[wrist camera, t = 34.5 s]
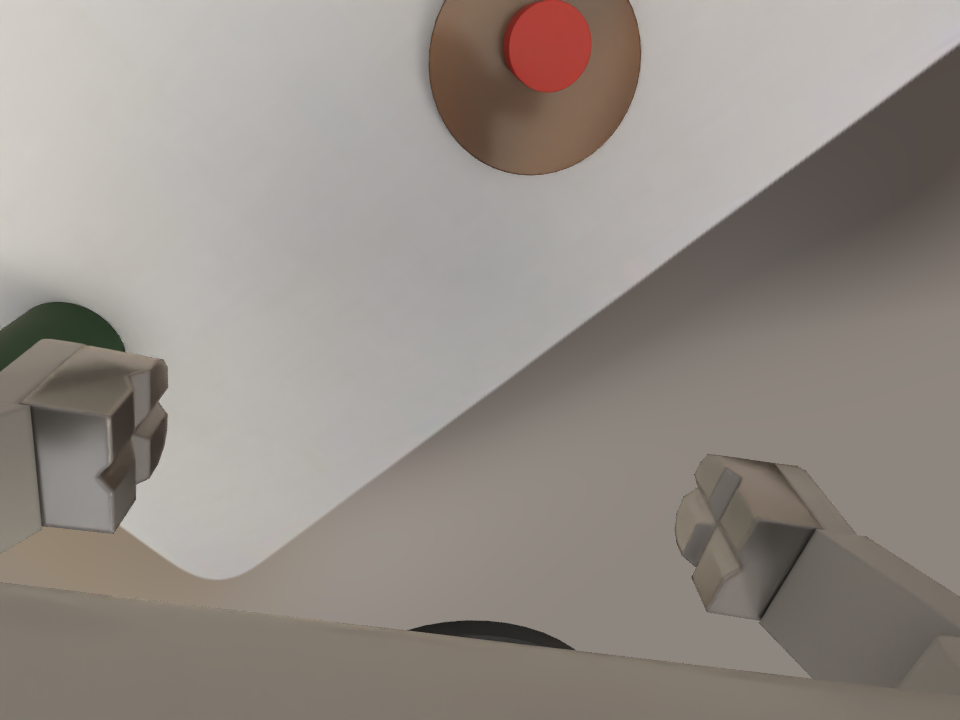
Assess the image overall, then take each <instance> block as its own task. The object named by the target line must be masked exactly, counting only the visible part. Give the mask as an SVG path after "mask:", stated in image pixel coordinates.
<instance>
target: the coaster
mask: <svg viewBox="0 0 960 720" xmlns="http://www.w3.org/2000/svg"><path fill="white" fill-rule="evenodd" d="M537 1H544V0H445V2H444V3H443V5H442V7H441V10H440V12H439V14H438V17H437V19H436V22H435V26H434V29H433V33H432V37H431V43H430V50H429V75H430V84H431V89H432V94H433V98H434V100H435V103H436V106H437V109H438V112H439V114H440V116H441V118H442V120H443V122H444V124H445V125H446V127H447V128H448V130H449V132H450V133H451V135H452V136H453V137H454V138H455V139H456V141H457V142H458V143H459V144H460V145H461V146H462V147H463V148H464V149H465V150H466V151H467V152H469V153H470V154H471V155H472V156H474V157H475V158H477V159H478V160H479V161H481V162H483V163H485V164H487V165H489V166H491V167H493V168H495V169H498V170H501V171H504V172H508V173H513V174H519V175H542V174H548V173H553V172H557V171H560V170H563V169H566V168H569V167H571V166H573V165H575V164H577V163H579V162H581V161H582V160H584V159H585V158H587V157H588V156H590V155H592V154H593V153H594V152H595V151H596V150H597V149H599V148H600V147H601V146H602V145H603V144H604V143H605V142H606V141H607V140H608V139H609V138H610V137H611V136H612V134H613V133H614V132H615V130H616V129H617V127H618V126H619V125H620V123H621V122H622V120H623V118H624V116H625V115H626V113H627V111H628V109H629V106H630V104H631V102H632V99H633V97H634V93H635V90H636V87H637V83H638V78H639V72H640V62H641V45H640V35H639V30H638V24H637V20H636V17H635V14H634V11H633V8H632V6H631V4H630V2H629V0H560V1H564V2H566V3H569V4H570V5H572V6H574V7H575V8H576V9H577V10H578V11H579V12H580V13H581V14H582V15H583V17H584V18H585V20H586V22H587V24H588V26H589V29H590V33H591V39H592V48H591V54H590V59H589V61H588V64H587V66H586V68H585V70H584V72H583V73H582V75H581V76H580V77H579V78H578V79H577V80H576V81H575V82H574V83H573V84H571V85H570V86H568V87H567V88H565V89H562V90H560V91H556V92H540V91H536V90H533V89H531V88H529V87H528V86H526V85H525V84H524V83H523V82H521V81H520V80H519V79H518V78H517V77H516V76H515V75H514V74H513V73H512V72H511V70H510V69H509V67H508V65H507V63H506V60H505V57H504V52H503V39H504V34H505V31H506V28H507V26H508V23H509V22H510V20H511V19H512V17H513V16H514V15H515V14H516V13H517V12H518V11H519V10H520V9H521V8H523V7H524V6H526V5H528V4H530V3H533V2H537Z"/></svg>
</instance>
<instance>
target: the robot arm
mask: <svg viewBox="0 0 960 720" xmlns="http://www.w3.org/2000/svg"><path fill="white" fill-rule="evenodd" d="M167 388H168V368H167V365H166V363H165V362H164V360H163V359H158V358H153V357H147V356H142V355H137V354H132V353H126V352H121V351H116V350H111V349H105V348H100V347H95V346H87V345H85V344H81V343H74V342H68V341H61V340H55V339H41V340H40V341H38V342H37V343H36V344H35V345H33V346H32V347H31V348H30V349H28V350H27V351H26V352H25V353H23V354H22V355H21V356H20V357H18V358H17V359H16V360H14V361H13V362H12V363H11V364H9V365H8V366H7V367H6V368H4V369H3V370H2V371H1V372H0V554H1V553H3V552H4V551H6V550H7V549H9V548H11V547H13V546H15V545H16V544H18V543H20V542H21V541H23V540H25V539H27V538H28V537H30V536H32V535H33V534H35V533H37V532H39V531H40V530H42V526H45V527H55V528H65V529H74V530H83V531H93V532H102V533H112V534H114V532H115V531H116V529H117V528H118V526H119V525H120V523H121V522H122V520H123V518H124V517H125V515H126V514H127V512H128V511H129V509H130V508H131V506H132V505H133V503H134V502H135V500H136V484H138V483H140V482H142V481H145V480H147V479H149V478H150V476H151V475H152V473H153V471H154V470H155V468H156V467H157V465H158V462H159V460H160V457H161V454H162V451H163V448H164V445H165V439H166V433H167V417H168V414H167V413H166V412H165V410H164V409H163V408H162V406H161V405H160V404H159V402H158V401H159V399H160V398H161V397H162V395H163V394H164V392H165V391H166V390H167ZM694 476H695V479H696V483H697V486H698V487H697V488H696V489H694V490H693V491H691V492H690V493H688V494H687V495H685V496H684V497H683V499H682V501H681V504H680V506H679V509H678V511H677V514H676V523H675V535H676V542H677V545H678V547H679V550H680V552H681V555H682V556H683V557H684V558H685V559H687V560H688V561H689V562H690V563H691V564H692V565H694V566H695V567H696V569H695V571H694V573H693V575H692V580H693V582H694V584H695V586H696V589H697V591H698V593H699V595H700V598H701V600H702V602H703V604H704V607H705V609H706V611H707V612H709V613H715V614H722V615H728V616H734V617H740V618H746V619H753V620H759V621H760V622H759V623H760V625H761V626H762V627H763V628H765V630H766V631H767V632H768V633H769V634H770V635H771V636H772V637H773V638H774V639H775V640H776V641H777V642H778V643H779V644H780V645H781V646H782V647H783V648H784V649H785V650H786V652H788V654H789V655H790V656H791V657H792V658H793V659H794V660H795V661H796V662H797V663H798V664H799V665H800V666H801V667H802V668H803V669H804V670H805V671H806V672H807V673H808V674H809V675H810V676H811V677H812V678H813V679H810V678H801V677H793V676H785V675H776V674H768V673H760V672H751V671H742V670H734V669H726V668H718V667H709V666H700V665H692V664H684V663H676V662H667V661H659V660H650V659H641V658H634V657H625V656H616V655H608V654H599V653H592V652H583V651H575V650H566V649H558V648H549V647H540V646H532V645H523V644H515V643H506V642H498V641H490V640H481V639H473V638H464V637H456V636H448V635H439V634H431V633H422V632H414V631H406V630H397V629H389V628H380V627H372V626H363V625H355V624H346V623H338V622H330V621H322V620H313V619H305V618H297V617H288V616H280V615H271V614H263V613H255V612H246V611H238V610H229V609H221V608H212V607H204V606H196V605H187V604H179V603H171V602H162V601H154V600H145V599H137V598H128V597H120V596H112V595H103V594H94V593H87V592H77V591H70V590H61V589H52V588H44V587H36V586H28V585H19V584H11V583H3V582H0V720H960V596H958V595H956V594H955V593H953V592H952V591H950V590H949V589H947V588H946V587H944V586H942V585H941V584H939V583H938V582H936V581H935V580H933V579H932V578H930V577H928V576H927V575H925V574H923V573H922V572H921V571H919V570H917V569H916V568H915V567H913V566H911V565H910V564H908V563H907V562H905V561H904V560H902V559H900V558H899V557H897V556H896V555H894V554H893V553H891V552H890V551H888V550H887V549H885V548H883V547H882V546H880V545H879V544H877V543H876V542H874V541H873V540H871V539H869V538H868V537H865V536H859V535H857V534H856V533H855V531H854V530H853V529H852V528H851V526H850V525H849V524H848V523H847V522H846V520H845V519H844V518H843V516H842V515H841V514H840V513H839V511H838V510H837V509H836V508H835V506H834V505H833V504H832V503H831V501H830V500H829V499H828V498H827V496H826V495H825V494H824V493H823V491H822V490H821V489H820V488H819V486H818V485H817V484H816V483H815V482H814V480H813V479H812V478H811V476H810V475H809V474H808V473H807V472H806V470H804V469H802V468H799V467H798V466H793V465H785V464H778V463H777V464H776V463H770V462H762V461H755V460H748V459H741V458H734V457H728V456H721V455H713V454H708V455H706V456H705V458H704V459H703V460H702V461H701V462H700V464H699V466H698V467H697V470H696V472H695V474H694Z"/></svg>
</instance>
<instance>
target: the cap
mask: <svg viewBox="0 0 960 720" xmlns="http://www.w3.org/2000/svg"><path fill="white" fill-rule="evenodd" d="M591 48H592V39H591V33H590V29H589V26H588V24H587V22H586V20H585V18H584V17H583V15H582V14H581V13H580V12H579V11H578V10H577V9H576V8H575V7H574V6H572V5H570V4H569V3H566V2H564V1H560V0H544V1H537V2H533V3H530V4H528V5H526V6H524V7H523V8H521V9H520V10H519V11H518V12H517V13H516V14H515V15H514V16H513V17H512V19H511V20H510V22H509V23H508V26H507V28H506V31H505V34H504V39H503V52H504V57H505V60H506V63H507V65H508V67H509V69H510V70H511V72H512V73H513V74H514V75H515V76H516V77H517V78H518V79H519V80H520V81H521V82H523V83H524V84H525V85H526V86H528V87H529V88H531V89H533V90H536V91H540V92H556V91H560V90H562V89H565V88H567V87H568V86H570V85H571V84H573V83H574V82H575V81H576V80H577V79H578V78H579V77H580V76H581V75H582V73H583V72H584V70H585V68H586V66H587V64H588V61H589V59H590V54H591Z"/></svg>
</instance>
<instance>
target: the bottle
mask: <svg viewBox="0 0 960 720" xmlns="http://www.w3.org/2000/svg"><path fill="white" fill-rule="evenodd" d="M41 339H55V340H61V341H68V342H74V343H81V344H85V345H87V346H95V347H100V348H105V349H111V350H116V351H121V352H125V351H124V347H123V344H122V342H121V340H120V338H119V336H118V335H117V333H116V332H115V330H114V329H113V328H112V327H111V326H110V325H109V324H108V323H107V322H106V321H105V320H104V319H103V318H101V317H100V316H98V315H97V314H95V313H94V312H92V311H90V310H88V309H86V308H83V307H81V306H78V305H74V304H70V303H63V302H52V303H45V304H41V305H38V306H36V307H34V308H32V309H30V310H29V311H27V312H26V313H25V314H23V315H22V316H20V317H19V318H17V319H16V320H15V321H13V322H12V323H10V324H9V325H8V326H6V327H5V328H3V329H2V330H0V372H1V371H2V370H3V369H4V368H6V367H7V366H8V365H9V364H11V363H12V362H13V361H14V360H16V359H17V358H18V357H20V356H21V355H22V354H23V353H25V352H26V351H27V350H28V349H30V348H31V347H32V346H33V345H35V344H36V343H37V342H38V341H40V340H41Z"/></svg>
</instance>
